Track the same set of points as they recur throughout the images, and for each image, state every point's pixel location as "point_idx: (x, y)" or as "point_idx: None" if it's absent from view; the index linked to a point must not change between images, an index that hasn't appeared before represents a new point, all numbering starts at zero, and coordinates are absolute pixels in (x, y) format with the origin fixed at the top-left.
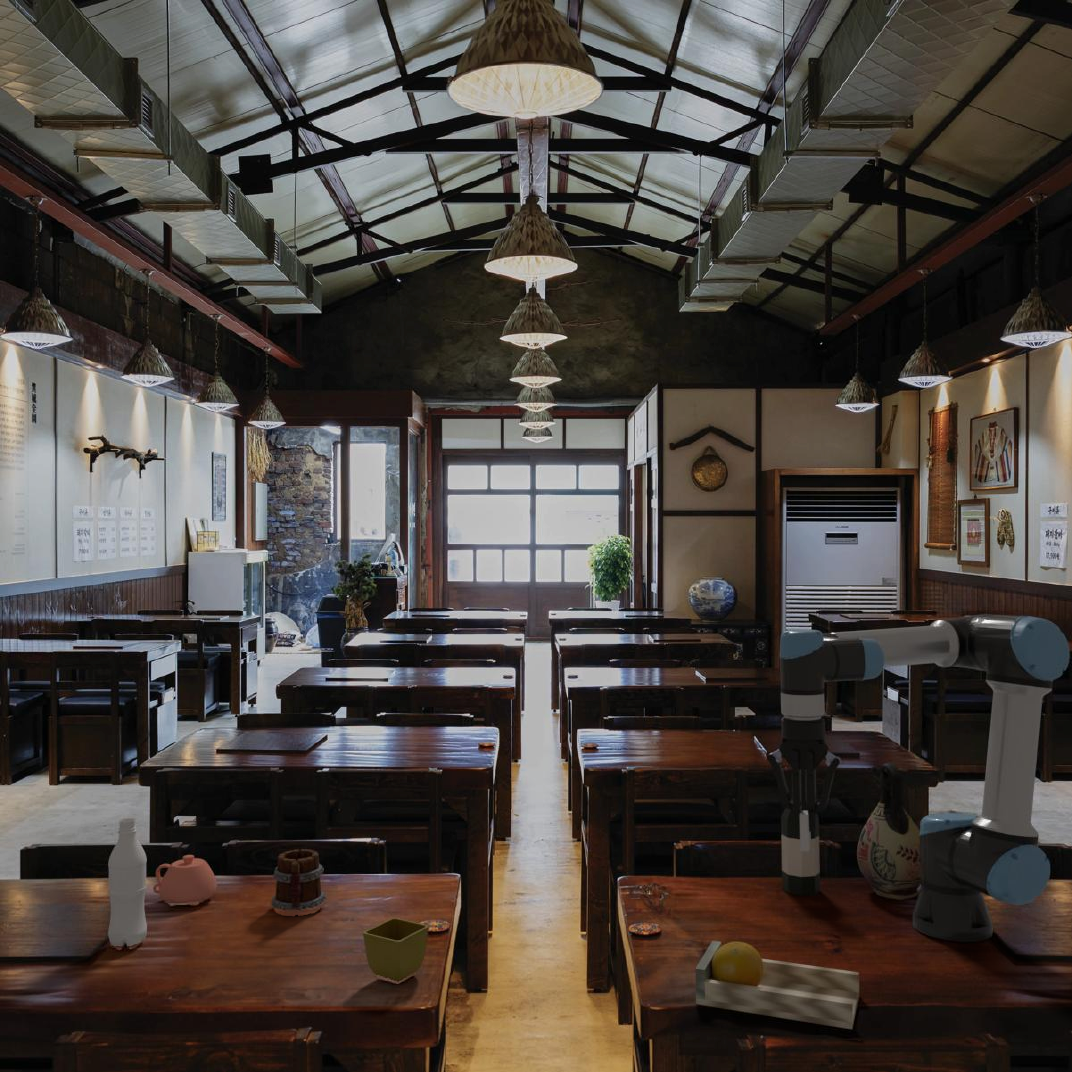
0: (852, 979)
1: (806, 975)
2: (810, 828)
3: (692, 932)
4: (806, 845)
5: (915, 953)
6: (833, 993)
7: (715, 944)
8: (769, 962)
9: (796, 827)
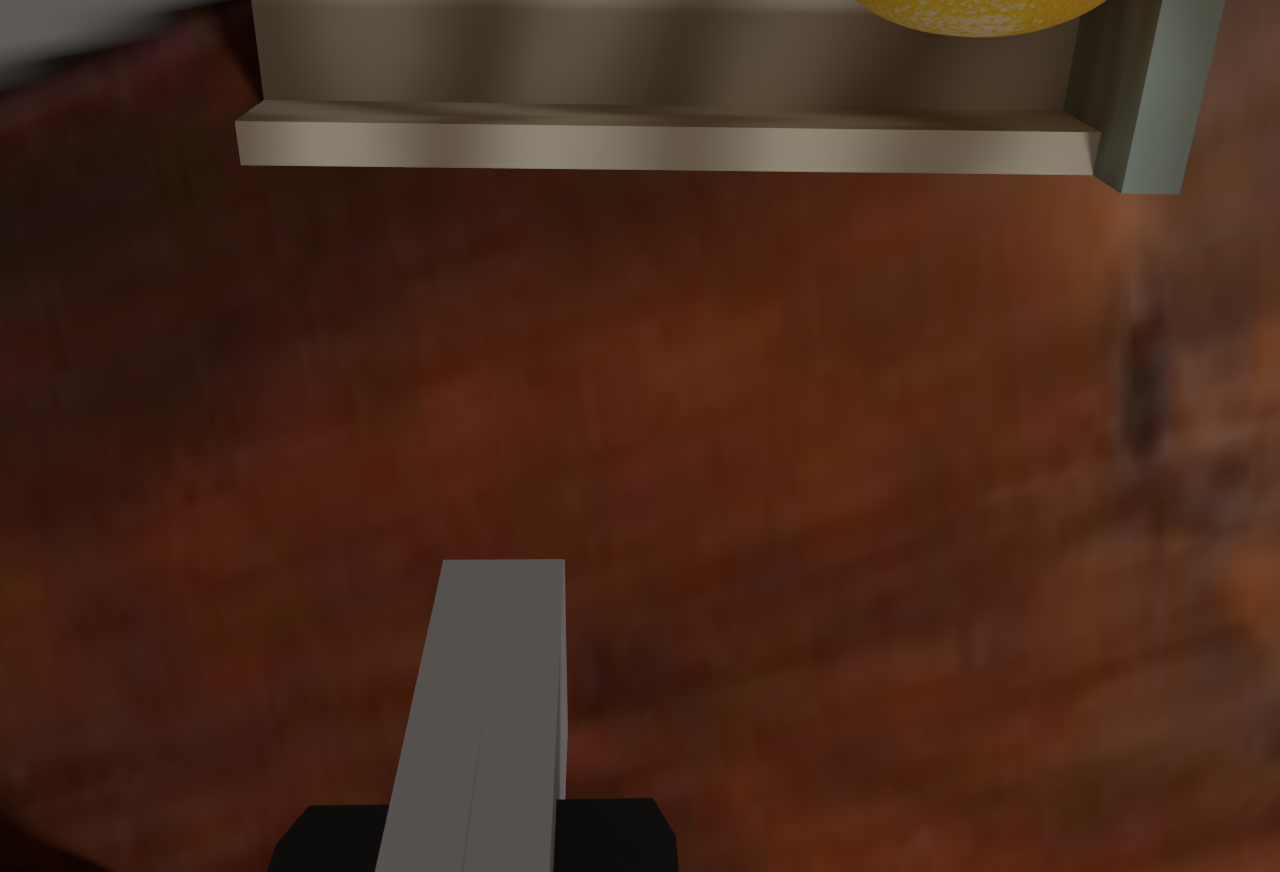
0: (279, 116)
1: (556, 115)
2: (368, 844)
3: (1207, 623)
4: (467, 608)
5: (138, 719)
6: (393, 34)
7: (1160, 133)
8: (785, 128)
9: (625, 836)
